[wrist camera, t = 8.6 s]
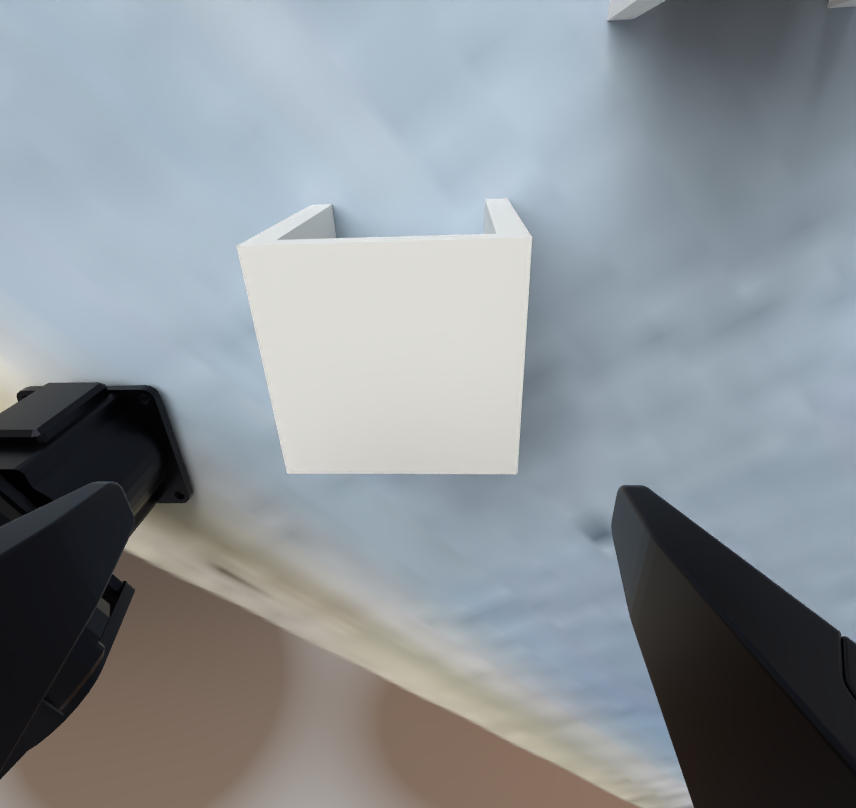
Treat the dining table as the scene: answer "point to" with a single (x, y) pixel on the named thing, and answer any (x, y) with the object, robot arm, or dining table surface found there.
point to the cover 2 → (632, 3)
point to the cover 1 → (392, 344)
